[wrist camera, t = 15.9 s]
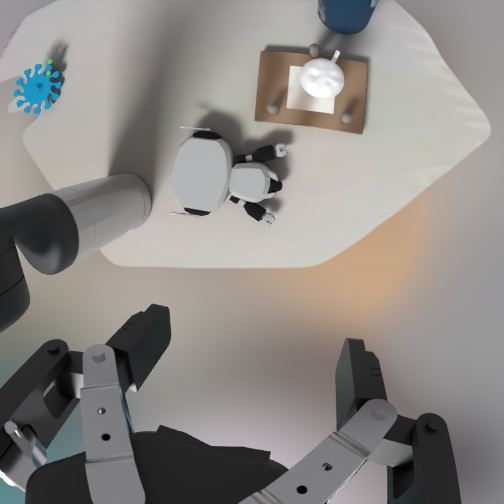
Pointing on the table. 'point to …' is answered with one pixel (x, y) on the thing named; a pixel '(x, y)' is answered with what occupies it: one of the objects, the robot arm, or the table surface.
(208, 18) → the table surface
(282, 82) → the pin plate
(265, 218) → the robot toy
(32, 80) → the gear
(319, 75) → the milkshake
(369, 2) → the soda can
